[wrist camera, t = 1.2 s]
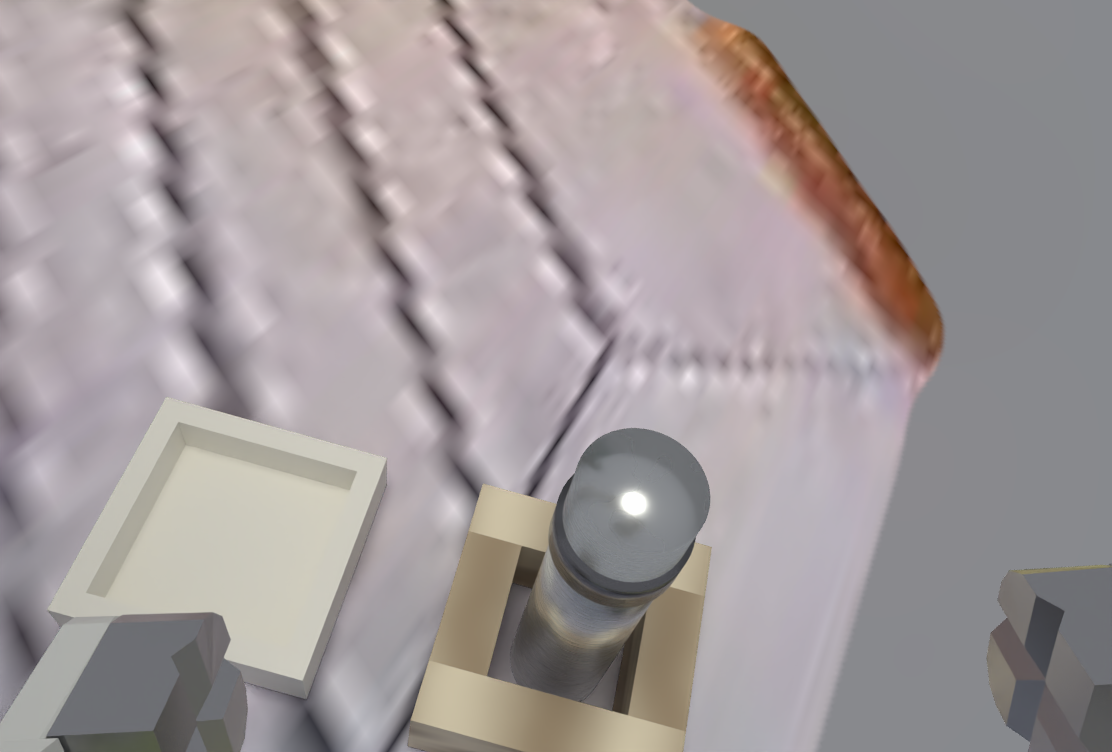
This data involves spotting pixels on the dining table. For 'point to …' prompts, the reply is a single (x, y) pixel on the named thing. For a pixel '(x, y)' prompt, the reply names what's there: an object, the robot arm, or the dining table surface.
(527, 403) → the dining table surface
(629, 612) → the collared metal peg
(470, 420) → the dining table surface
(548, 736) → the socket block
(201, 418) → the tray
